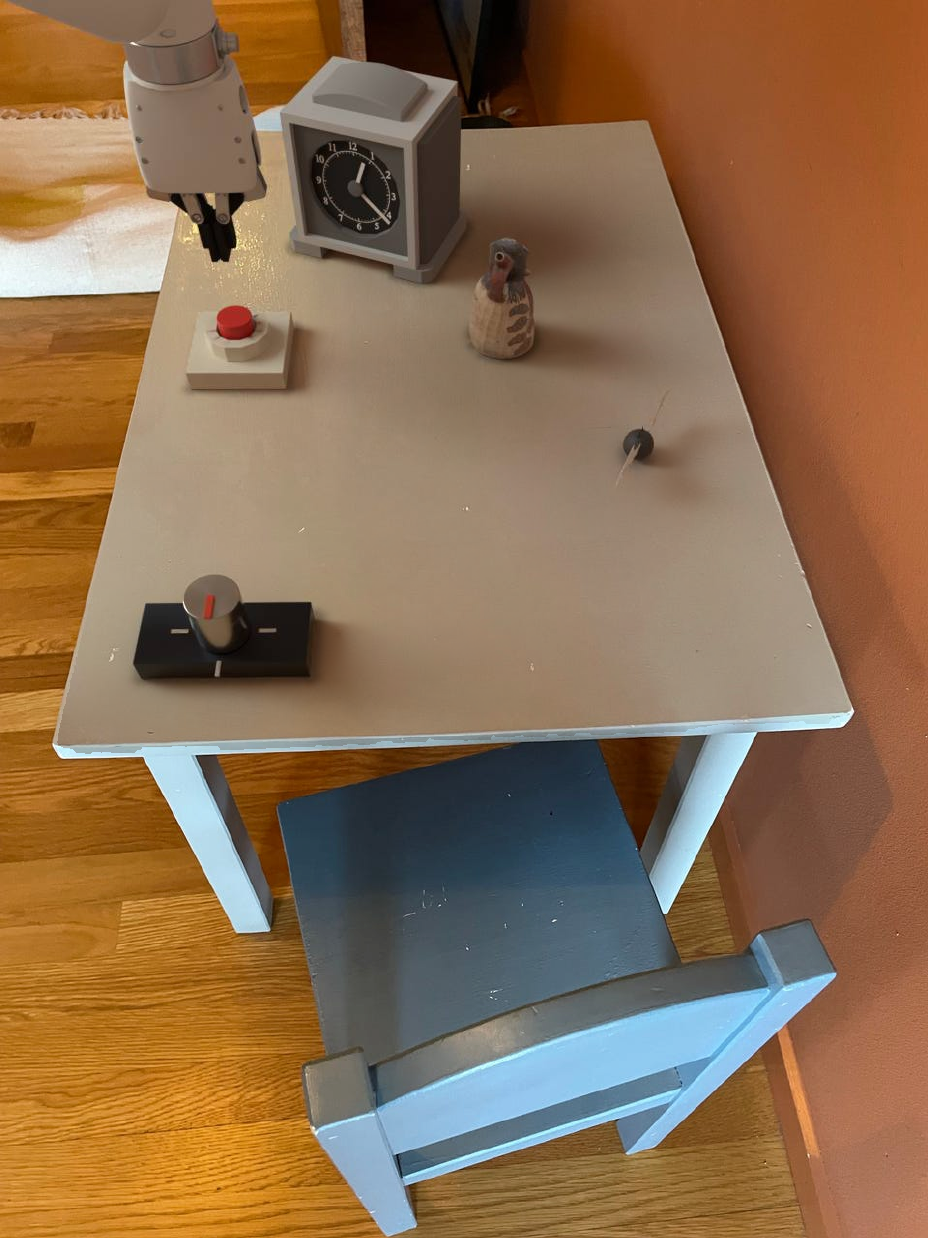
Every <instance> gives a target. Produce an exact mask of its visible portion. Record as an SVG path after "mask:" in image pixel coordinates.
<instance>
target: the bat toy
mask: <svg viewBox="0 0 928 1238" xmlns="http://www.w3.org/2000/svg"><path fill="white" fill-rule="evenodd" d="M671 390H672V388H671V387H670V388H668V389H667V390H666V391H665V392H664V394H663V395H662V396H661V398H660V401H659V404H658V407H657V409H656V412H655V414H654V416H653V418H652V421H651V423H650V425H649V427H648V429H647V430H646V429H644V426H643V425H641V426H642V427H641V428H636V429H632V430H630V431H629V432H628V433H627V434H626V435H625V436H624V439H623V441H622V447H623V451H624V454H625V455H626V456H627V458H626V460H625V462H624V464H623V467H622V468H621V472H620V473H619V476H618V478H617V480H616V484H615V486H617V485H618V482H619V480H620V478H621V479H623V477H624V475H625V473H626V471H627V469H628V467H632V464H633V461H634V460H636V461H641V460H644V459H646V458H648V457H649V456H650V455H651V454H652V453H653V450H654V448H655V441H654V437H653V435H652V434H651V433H650V431H651V429H652V427H654V426H655V423H656V420H657V417H658V414H659V413H660V411H661V408H662V407H664V404H665V401H666V398H667V396H668V394H669V392H670V391H671Z"/></svg>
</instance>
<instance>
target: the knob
mask: <svg viewBox="0 0 928 1238" xmlns="http://www.w3.org/2000/svg"><path fill="white" fill-rule="evenodd" d="M243 602H244V600H243V598H242V594H241V590H240V588H239V586H238V584H237V583H236V582H235V580H233V579H232V578H230V577H228V576H226V575H223V574H208V575H204V576H201V577H199V578H197V579H195V580H194V581H192V582H191V583H190V584H189V585H188V586H187V588H186V589H185V590H184V593H183V597H182V603H183V606H184V608H185V611H186V613H187V616H188V618H189V620H190V623H191V625H192V627H193V630H194V632H195V635H196V637H197V639H198V642H199V643H200V645H201V646H202V647H203V648H204V649H206V650H207V651H210V652H212V653H218V654H222V653H229V652H232V651H234V650H236V649H238V648H239V647H241V646H242V645H243V644H244V643H245V642H246V641H247V639H248V637H249V635H250V631H251V626H250V622H249V619H248V616H247V613H246V609H245V606H244V603H243Z"/></svg>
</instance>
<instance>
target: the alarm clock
mask: <svg viewBox="0 0 928 1238" xmlns="http://www.w3.org/2000/svg"><path fill="white" fill-rule="evenodd" d="M458 83H459V82H458V81H457V80H453V79H447V78H442V77H437V76H433V75H428V74H424V73H417V72H414V71H409V70H404V69H400V68H398V67H395V66H391V65H388V64H385V63H380V62H371V61H359V60H354V59H350V58H345V57H341V56H335V55H332V56H331V58H329V60H328V61H327V62H326V63H325V64H324V65H323V66H322V67H321V68H320V69H319V70H318V71H317V72H315V75H313V76H312V77H311V79H309V80H308V82H307V83H306V84H305V85H303V87H302V88H301V89H299V91H298V92H297V93H296V94H295V95H294V96H293V97H292V98H291V99H290V100H289V101H288V102H287V103H286V104H285V106H284V107H283V108H282V109H281V110H280V111H279V117H280V125H281V131H282V137H283V145H284V150H285V159H286V165H287V172H288V179H289V185H290V193H291V200H292V207H293V212H294V220H295V225H294V226H293V228H292V229H291V230H290V232H289V241H290V246H291V250H292V251H294V252H295V253H297V254H298V253H299V254H302V255H306V256H310V257H315V258H318V259H322V258H323V257H324V256H325V255H326V253H328V251H329V250H333V251H336V252H341V253H345V254H349V255H353V256H357V257H362V258H365V259H368V260H374V261H378V262H381V263H385V264H390V265H392V266H393V277H394V278H398V279H402V280H407V281H410V282H414V283H419V284H429V283H430V282H433V281H435V278H436V276H437V275H438V273H439V272H440V270H441V268H442V267H443V265H444V264H445V263H446V261H447V260H448V258H449V256H450V255H451V253H452V251H453V250H454V249H455V247H456V245H457V243H458V242H459V241H460V239H461V237H462V236H463V234H464V233H465V231H466V230H467V215H466V212H464V211H463V210H462V209H461V164H462V163H461V162H462V160H461V156H462V155H461V153H462V99H463V98H462V97H461V96H458V87H459V86H458V85H459V84H458Z"/></svg>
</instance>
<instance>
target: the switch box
mask: <svg viewBox="0 0 928 1238" xmlns="http://www.w3.org/2000/svg"><path fill="white" fill-rule="evenodd" d="M245 307H246V306H245ZM246 308H248V309H249V310H250V311H251V313H252V318H253V322H254V327H255V329H254V332H253V334H252V335H251V336H250V337H247V338H244V339H242V340H227V339H225V338H224V337H222V335H221V334H220V331H219V327H218V323H217V314H218V313H219V312H220V311H221V310H199V311H198V314H197V320H196V324H195V328H194V333H193V338H192V342H191V347H190V351H189V355H188V360H187V365H186V369H185V377H186V379H187V383H188V386H189V389H190V390H286V389H287V384H288V377H289V368H290V360H291V352H292V345H293V337H294V329H295V327H294V326H295V325H294V320H293V314H292V311H291V310H257V309H253V308H251V307H246Z"/></svg>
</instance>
